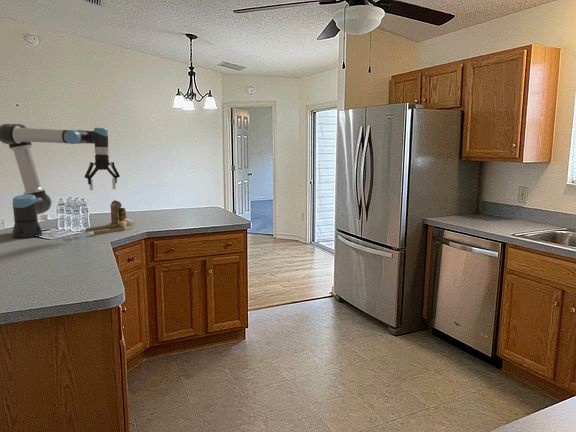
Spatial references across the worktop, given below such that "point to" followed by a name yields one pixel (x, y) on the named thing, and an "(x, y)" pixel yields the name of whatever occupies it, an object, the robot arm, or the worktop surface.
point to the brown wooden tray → (106, 229)
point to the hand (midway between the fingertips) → (102, 189)
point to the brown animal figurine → (120, 211)
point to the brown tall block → (114, 217)
